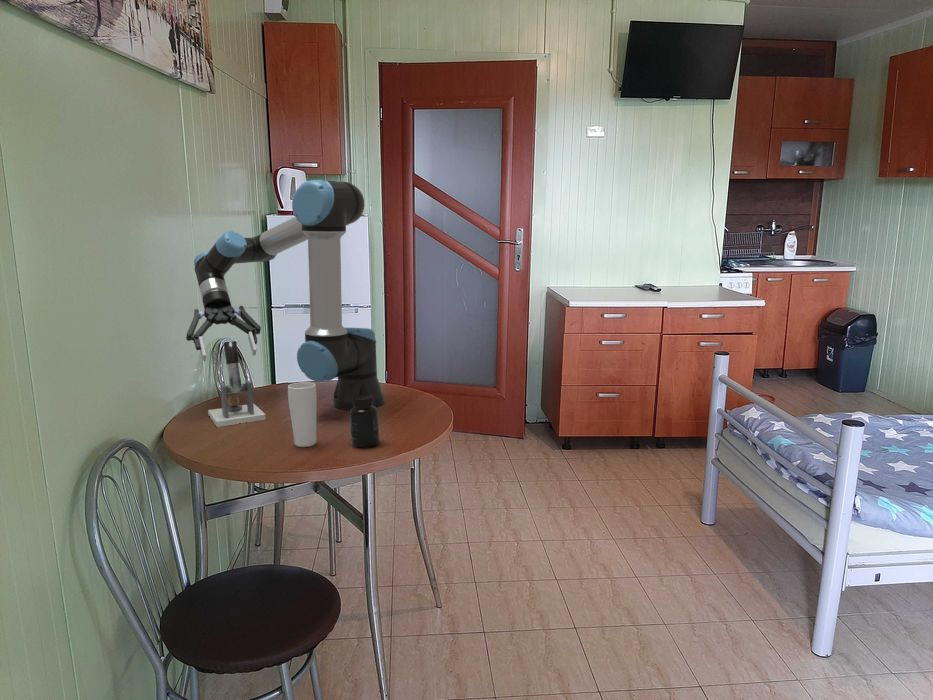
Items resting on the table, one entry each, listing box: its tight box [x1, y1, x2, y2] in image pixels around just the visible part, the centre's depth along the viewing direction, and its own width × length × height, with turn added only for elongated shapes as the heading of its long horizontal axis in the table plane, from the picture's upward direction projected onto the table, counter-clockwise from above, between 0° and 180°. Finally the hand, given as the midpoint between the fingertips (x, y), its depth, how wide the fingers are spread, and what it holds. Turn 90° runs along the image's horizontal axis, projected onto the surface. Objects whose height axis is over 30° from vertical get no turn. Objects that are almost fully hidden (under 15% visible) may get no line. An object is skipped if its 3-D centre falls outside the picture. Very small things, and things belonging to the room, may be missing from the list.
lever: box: [223, 340, 247, 395], centre depth 192 cm, size 10×5×14 cm, turn 29°
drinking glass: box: [287, 381, 318, 448], centre depth 166 cm, size 7×7×15 cm
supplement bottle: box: [349, 395, 380, 449], centre depth 166 cm, size 7×7×12 cm
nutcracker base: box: [207, 379, 267, 428], centre depth 192 cm, size 14×13×10 cm
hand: (229, 355), depth 191 cm, fingers open, 13 cm apart
